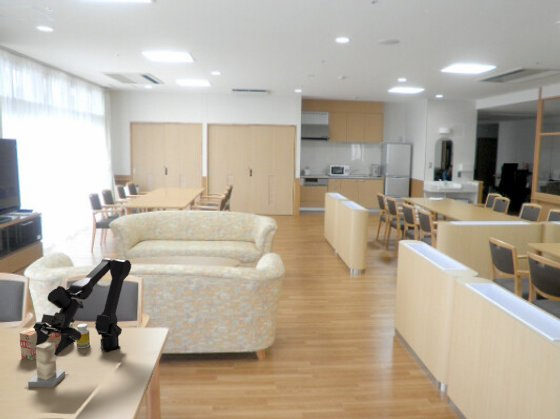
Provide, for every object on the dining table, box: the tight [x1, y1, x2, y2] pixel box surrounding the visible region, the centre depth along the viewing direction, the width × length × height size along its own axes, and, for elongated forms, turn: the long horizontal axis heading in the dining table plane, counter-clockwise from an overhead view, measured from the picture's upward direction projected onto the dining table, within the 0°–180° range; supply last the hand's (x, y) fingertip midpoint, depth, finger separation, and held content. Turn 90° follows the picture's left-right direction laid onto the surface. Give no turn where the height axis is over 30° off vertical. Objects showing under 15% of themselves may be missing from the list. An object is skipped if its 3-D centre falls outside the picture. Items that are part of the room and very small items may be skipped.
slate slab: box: [27, 369, 66, 388], centre depth 174 cm, size 9×9×2 cm
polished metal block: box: [35, 342, 57, 380], centre depth 173 cm, size 4×4×12 cm
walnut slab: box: [24, 373, 70, 390], centre depth 175 cm, size 11×11×2 cm
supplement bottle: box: [75, 323, 91, 349], centre depth 207 cm, size 5×5×10 cm
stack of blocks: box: [19, 322, 75, 361], centre depth 202 cm, size 21×6×12 cm, turn 156°
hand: (45, 352), depth 173 cm, fingers open, 9 cm apart
